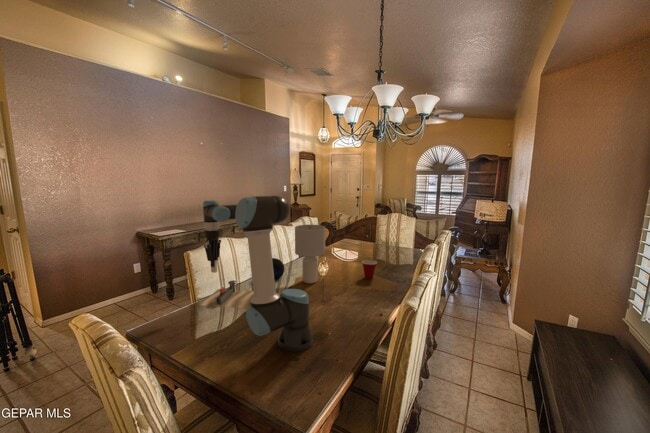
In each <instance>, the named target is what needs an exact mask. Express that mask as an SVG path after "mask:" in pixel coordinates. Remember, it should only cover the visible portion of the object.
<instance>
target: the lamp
mask: <svg viewBox="0 0 650 433" xmlns="http://www.w3.org/2000/svg"><path fill="white" fill-rule="evenodd" d="M294 253H295V255H297V256H300V257H303V258H302V270H301V271H302V281H303V283H305V284H310V285H311V284H314V283H316V282H317V281H318V266H319V264H318V258H317V257H320V256H324V255H325V254H326V226H325V225H320V224H301V225H296V226H294Z"/></svg>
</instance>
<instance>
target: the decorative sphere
mask: <svg viewBox="0 0 650 433" xmlns="http://www.w3.org/2000/svg"><path fill="white" fill-rule="evenodd" d="M272 262H273V271H274V281H275V280H278V279H281V277H282V276H283V275H284V273H285V265H284V263H283V261H282V260H281V259H279V258H275V257H274V258H273V257H272Z"/></svg>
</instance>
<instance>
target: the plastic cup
mask: <svg viewBox="0 0 650 433" xmlns="http://www.w3.org/2000/svg"><path fill="white" fill-rule="evenodd" d="M361 263H362V268H363V274H364V278H365V279H366V280H372V279H373V278H374V275H375V271H376V266H377V264H378V262H377V261H376V260H375V261H374V260H362V261H361Z"/></svg>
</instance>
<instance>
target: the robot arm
mask: <svg viewBox="0 0 650 433" xmlns="http://www.w3.org/2000/svg"><path fill="white" fill-rule="evenodd" d="M202 211H203V223H204V224H203V226H204V238H206V243H204V244H203V248H204V250H205V254H206V258H207V261H208V262H209V263H210V272H211V273H217V272H218V261H219V260H220V254H221V242H222V239H219V237H220V236H221V232H220V231H221V230H220V228H221V227H220V223H221V222H223V223H224V222H226V221H230V220H235V223H236V225H237V227H238V228H240V229H242V232H243V234H244V235H246V236H247V244H248V254H249V261H250V262H249V263H250V271H251V281H252V291H253V292H254V296H253V298H252V299H251V301H250V306H249V307H248V308H246V311H245V316H246V321H247V324H248V326H249V327H250V330H251V331H252V332H253V333H254V334H255V335H257V336H260V337H261V336H264V335H267V334H271V333H272V332H275V331H276V330H279V329H280V331H279V333H278V336H277V343H278V346H279V348H280V349H282V350H283V351H286V352H293V353H296V352H302V351H305V350H308V348H310V347H311V346H312V344H313V338H314V336H313V333H312V330H311V327H310V325H309V323H310V322H309V320H310V319H309V316H310V314H309V313H310V312H309V307H310V300H309V299H310V298H309V294H308V293H307V292H306V291H304V290H302V289H297V288H286V289H283V290H282V291H281V294H279V293H277V290H276V283H275V282H276V281H275V280H274V271H273V262H272V258H273V255H272V245H271V234H270V233H271V232H272V231H273V226H274V224H280V223H283V222H285V220H287V219H288V218H289V215H290V213H291V206H290V203H289V201H288V200H286V199H285V197H282V196H280V195H265V196H264V195H262V196H261V195H259V196H257V195H256V196H253V195H252V196H248V197H247V196H246V197H242V198H241V199H239V201H238V202H237V204H228V205H227V204H226V205H224V204H223V205H219V201H218V200H215V199H214V200H213V199H208V200H204V201H203V202H202Z"/></svg>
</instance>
